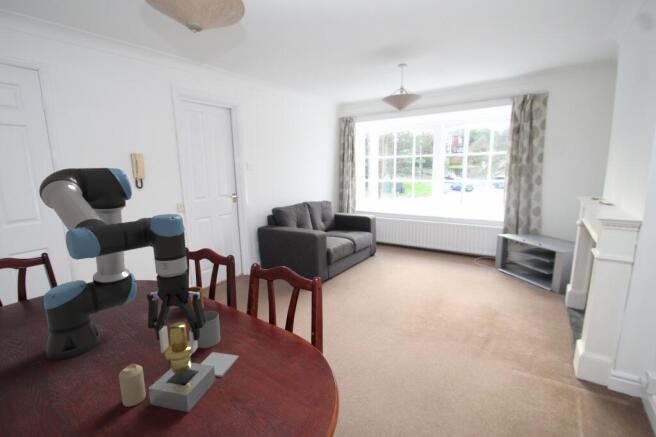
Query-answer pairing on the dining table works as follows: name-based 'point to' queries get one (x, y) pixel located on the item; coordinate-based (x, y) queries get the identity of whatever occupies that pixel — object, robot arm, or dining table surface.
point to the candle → (132, 385)
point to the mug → (195, 289)
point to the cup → (209, 330)
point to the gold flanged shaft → (178, 348)
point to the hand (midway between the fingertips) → (179, 349)
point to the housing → (182, 387)
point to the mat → (220, 362)
